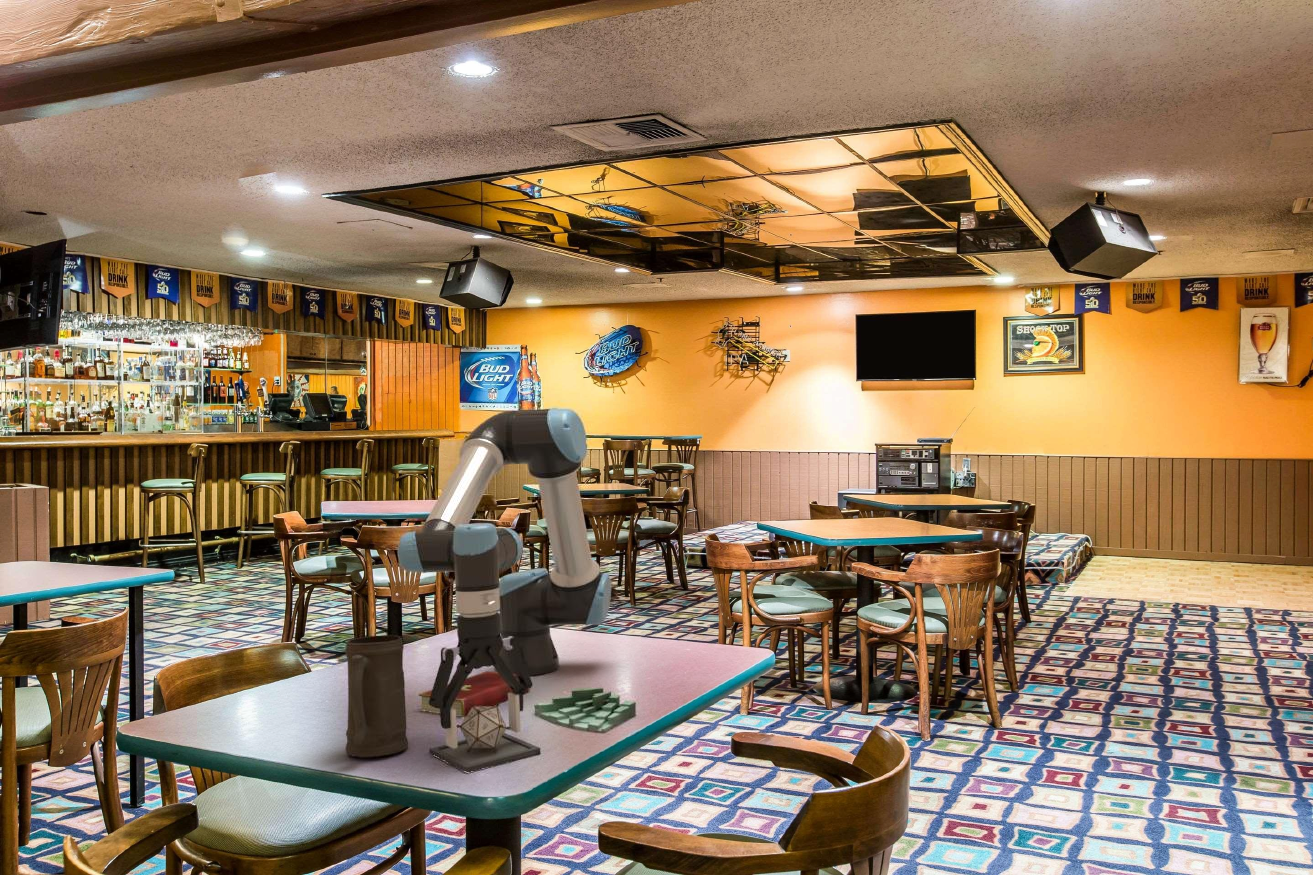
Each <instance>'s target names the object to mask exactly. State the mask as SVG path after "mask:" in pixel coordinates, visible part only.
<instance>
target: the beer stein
mask: <svg viewBox="0 0 1313 875" xmlns="http://www.w3.org/2000/svg"><path fill="white" fill-rule="evenodd" d="M402 638H403V637H402V636H401V635H396V634H395V635H393V634H390V635H389V634H386V635H385V634H383V635H369V636H362V637H356V638H351V639H349V640H347V641H346V643H345V650H344V652H345V656H346V659H347V686H348V687H347V695H348V698H347V700H348V702H347V703H348V704H347V708H348V709H347V729H346V731H345V736H346V741H347V742H346V745H345V754H346V753H347V754H346V755H348V754H349V755H348V756H350V755H354V756H359V757H358V758H372V757H374V756H375V757H383V756H387V755H393V754H397V753H399V752H402V751H404V750H406V749H407V748H408V747H409V741H408V737H407V729H408V728H407V727H408V726H407V712H406V710H407V708H406V692H405V691H406V689H405V688H406V687H405V685H406V684H405V683H406V682H405V673H404V666H403V658H404V657H403V656H404V648H405V647H404V643H403V639H402ZM354 756H353V757H354Z"/></svg>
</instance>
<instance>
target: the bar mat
mask: <svg viewBox="0 0 1313 875" xmlns="http://www.w3.org/2000/svg"><path fill="white" fill-rule="evenodd" d="M457 747H458V748H454V749H453V748H451V747H449V746H447V745H446V744H443V745H438V746H434V747H431V748H429V755H430V754H432V755H435V756H437V757H439V758H440V759H442V760H445V761H446V762H448V763H449V764H448V763H447V764H448V765H450V764H451V765H450V766H452V767H453V766H455V767H457V768H459V769H461V770H463V771H466V772H471V771H475V772H477V771H476V770H478V771H480V770H479V769H482V768H486V767H489V768H492V767H491V766H493V767H496V766H497V767H498V766H500V764H501V765H503V764H508V763H511V762H515V761H519V760H522V759H526V758H529V757H534V756H537V755H541V747H539V746H538V745H537V746H536V745H534V744H532V743H530V742H527V741H525V740H523V739H520V738H517V737H516V736H512V735H510V734H507V733H506V732H504V734H503V735H502V737H501V739H500V740H499V742H498V744H497V745H496V747H495V748H496V749H497V753H496V752H494V749H471V751H470V752H468V753H467V750H468V749H469V746H468V743H467V741H466V739H463V740H459V741H458V740H457ZM432 755H431V756H432ZM440 759H439V760H440ZM442 760H441V761H442ZM446 762H445V763H446ZM507 762H508V763H507ZM455 767H454V768H455ZM457 768H456V769H457ZM459 769H458V770H459ZM486 769H487V768H486ZM461 770H460V771H461ZM482 770H483V769H482ZM463 771H462V772H463ZM471 773H472V772H471Z"/></svg>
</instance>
